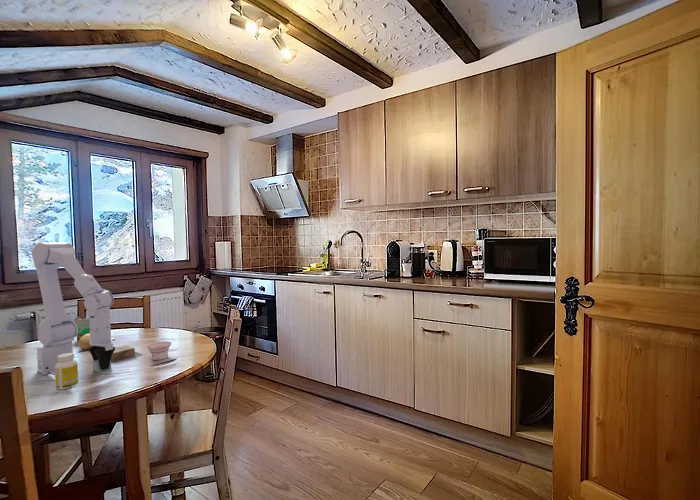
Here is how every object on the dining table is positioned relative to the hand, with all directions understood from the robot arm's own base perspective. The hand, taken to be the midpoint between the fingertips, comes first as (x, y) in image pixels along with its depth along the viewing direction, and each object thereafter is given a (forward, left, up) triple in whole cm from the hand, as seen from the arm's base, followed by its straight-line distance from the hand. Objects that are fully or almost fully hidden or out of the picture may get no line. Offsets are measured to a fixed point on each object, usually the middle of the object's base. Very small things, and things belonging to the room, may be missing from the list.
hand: (102, 367), depth 121 cm
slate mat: (+9, +9, -1) cm, 13 cm away
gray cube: (0, 0, -1) cm, 1 cm away
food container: (+11, +54, -2) cm, 55 cm away
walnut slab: (+9, +9, 0) cm, 13 cm away
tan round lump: (+8, +36, -2) cm, 37 cm away
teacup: (+16, -5, -2) cm, 17 cm away
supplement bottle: (-11, -5, -2) cm, 12 cm away
